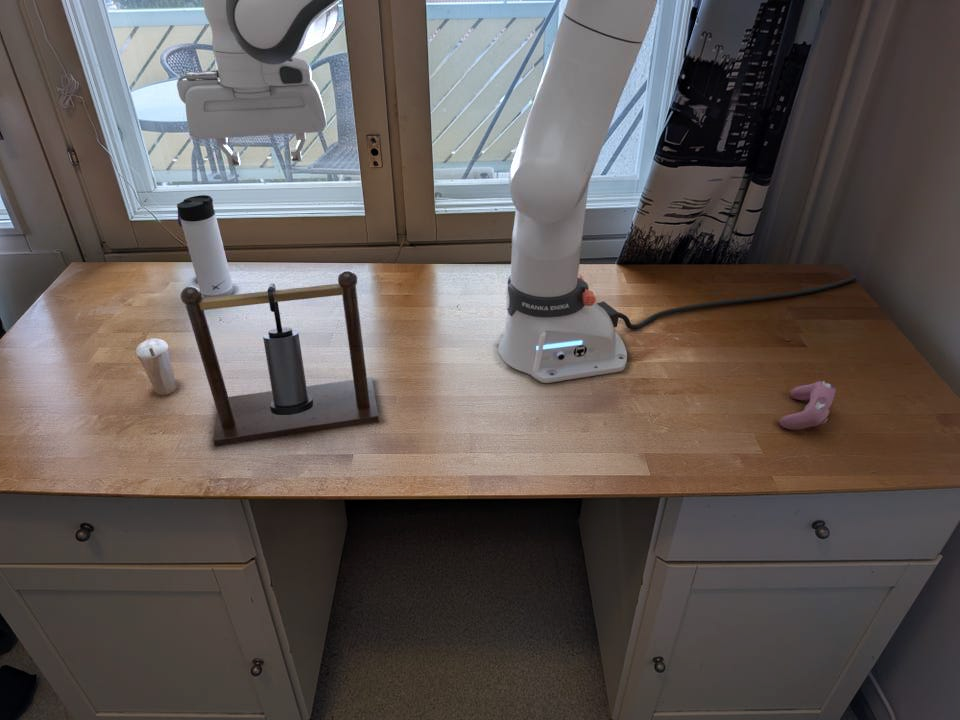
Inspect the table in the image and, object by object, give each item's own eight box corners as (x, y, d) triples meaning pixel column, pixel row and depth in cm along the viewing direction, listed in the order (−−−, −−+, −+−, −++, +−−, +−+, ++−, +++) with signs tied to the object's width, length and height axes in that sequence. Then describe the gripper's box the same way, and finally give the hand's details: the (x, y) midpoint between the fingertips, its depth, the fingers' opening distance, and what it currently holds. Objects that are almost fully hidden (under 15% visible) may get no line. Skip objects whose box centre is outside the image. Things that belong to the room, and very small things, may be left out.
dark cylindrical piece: (272, 403, 96) (252, 281, 91) (313, 398, 97) (296, 277, 92) (267, 423, 88) (245, 291, 83) (312, 417, 90) (293, 286, 84)
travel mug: (225, 302, 128) (201, 206, 116) (195, 298, 129) (168, 202, 118) (241, 287, 133) (219, 193, 121) (211, 283, 134) (187, 190, 123)
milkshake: (153, 404, 102) (133, 352, 97) (149, 385, 106) (131, 334, 100) (183, 395, 104) (166, 344, 98) (179, 378, 108) (162, 327, 102)
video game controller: (800, 444, 98) (836, 420, 93) (775, 424, 99) (810, 399, 94) (811, 409, 105) (845, 385, 100) (788, 390, 106) (821, 365, 101)
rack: (220, 404, 103) (179, 264, 88) (372, 383, 107) (357, 247, 93) (214, 446, 95) (169, 300, 80) (379, 421, 99) (363, 280, 85)
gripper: (170, 77, 90) (195, 174, 98) (320, 70, 94) (332, 164, 102) (176, 67, 95) (199, 161, 103) (318, 62, 99) (330, 152, 107)
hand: (266, 162), depth 103 cm, fingers open, 8 cm apart
